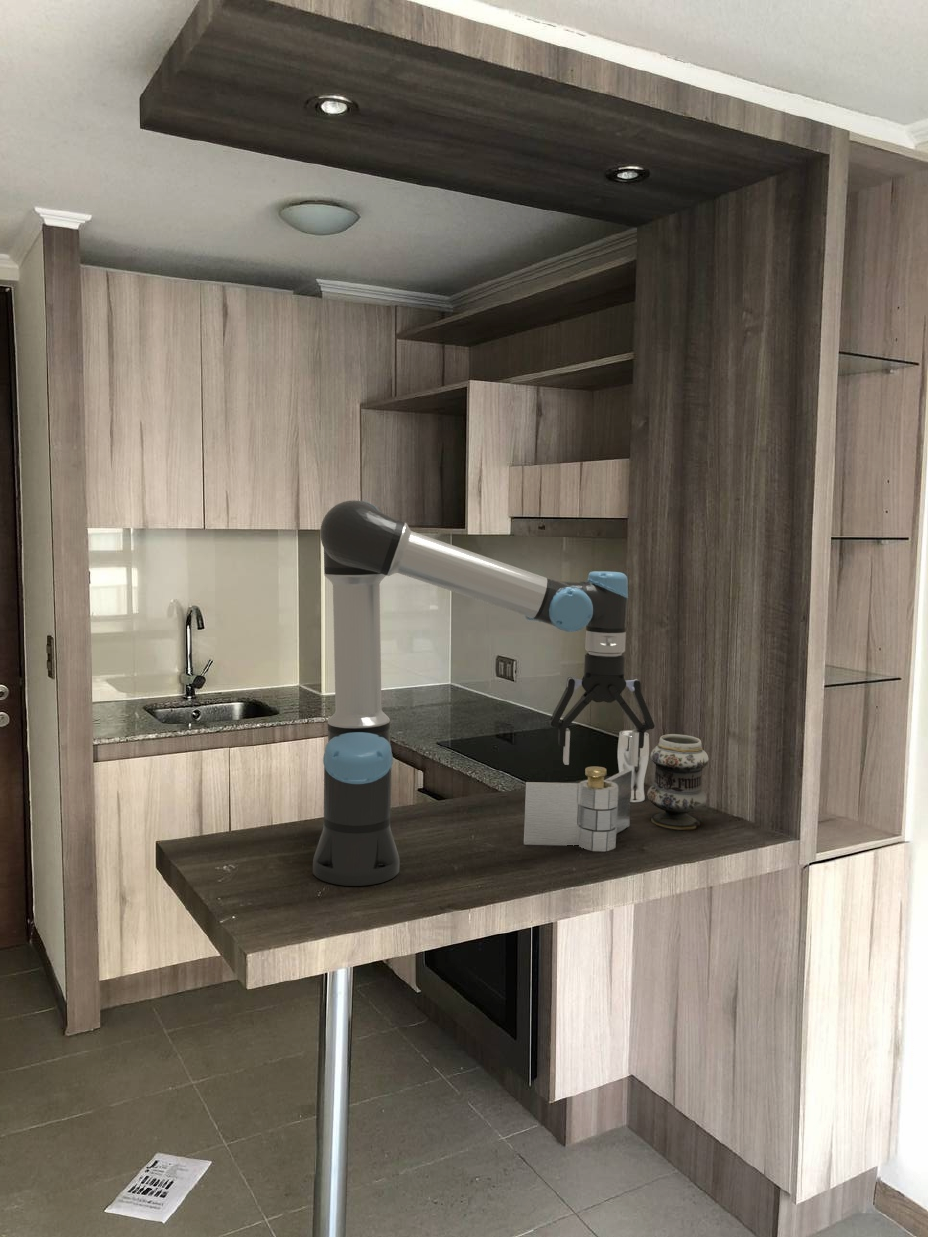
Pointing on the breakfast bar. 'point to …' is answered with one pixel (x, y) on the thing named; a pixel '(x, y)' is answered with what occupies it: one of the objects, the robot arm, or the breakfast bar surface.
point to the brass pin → (595, 776)
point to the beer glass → (625, 763)
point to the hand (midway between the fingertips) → (599, 764)
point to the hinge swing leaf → (613, 816)
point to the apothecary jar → (678, 781)
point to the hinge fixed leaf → (567, 814)
